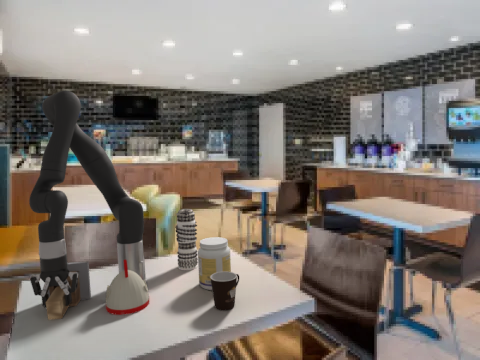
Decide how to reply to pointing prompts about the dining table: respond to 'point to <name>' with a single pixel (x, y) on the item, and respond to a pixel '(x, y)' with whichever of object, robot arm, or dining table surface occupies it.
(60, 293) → the tan wooden bar
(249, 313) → the dining table surface
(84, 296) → the wall
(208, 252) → the supplement tub
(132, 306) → the cream dome
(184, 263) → the decorative candle
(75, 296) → the block
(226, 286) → the coffee mug
